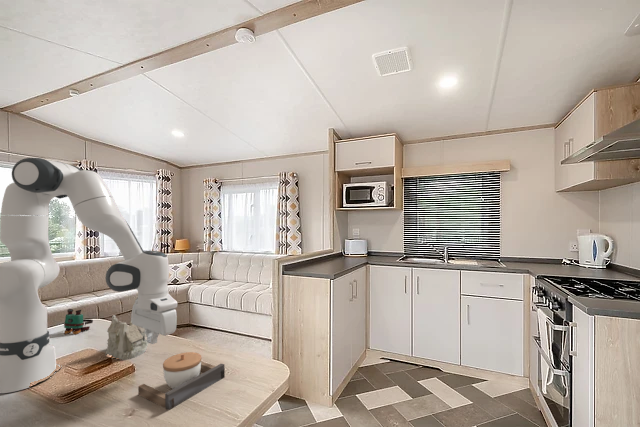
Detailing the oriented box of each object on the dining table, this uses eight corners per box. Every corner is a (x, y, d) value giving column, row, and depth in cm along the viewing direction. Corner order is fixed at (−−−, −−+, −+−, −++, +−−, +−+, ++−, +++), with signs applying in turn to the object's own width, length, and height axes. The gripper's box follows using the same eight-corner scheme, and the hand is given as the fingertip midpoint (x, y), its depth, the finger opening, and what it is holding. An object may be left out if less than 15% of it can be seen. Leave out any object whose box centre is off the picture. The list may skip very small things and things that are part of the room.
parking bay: (138, 394, 88) (138, 381, 88) (195, 366, 104) (194, 354, 104) (168, 410, 80) (168, 394, 80) (224, 377, 97) (224, 364, 97)
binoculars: (97, 306, 146) (77, 310, 136) (95, 329, 145) (75, 335, 135) (81, 306, 147) (60, 310, 138) (79, 328, 146) (58, 334, 136)
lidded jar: (187, 397, 86) (187, 363, 86) (154, 393, 88) (154, 361, 88) (208, 377, 97) (208, 347, 97) (178, 374, 99) (178, 345, 99)
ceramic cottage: (121, 362, 108) (123, 319, 109) (97, 355, 116) (98, 315, 117) (162, 348, 122) (163, 310, 123) (138, 342, 129) (139, 306, 131)
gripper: (126, 297, 103) (125, 338, 102) (162, 307, 92) (160, 353, 92) (145, 294, 108) (143, 333, 108) (180, 303, 98) (179, 346, 97)
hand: (151, 342), depth 100 cm, fingers closed
